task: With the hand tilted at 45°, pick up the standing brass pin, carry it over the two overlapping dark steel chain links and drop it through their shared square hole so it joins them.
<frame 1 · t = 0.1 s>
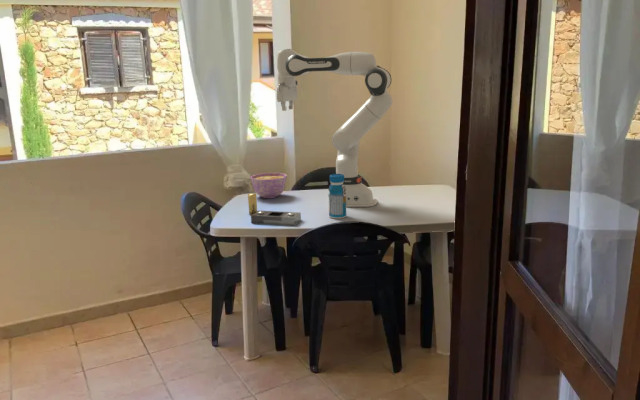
hand: (287, 110, 268), 48 cm above the table, tool pointing down, fingers open, 8 cm apart
bowl of food: (269, 196, 289), on the table
beverage bottle: (337, 217, 245), on the table
brass pin: (253, 214, 254), on the table
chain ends: (276, 221, 240), on the table
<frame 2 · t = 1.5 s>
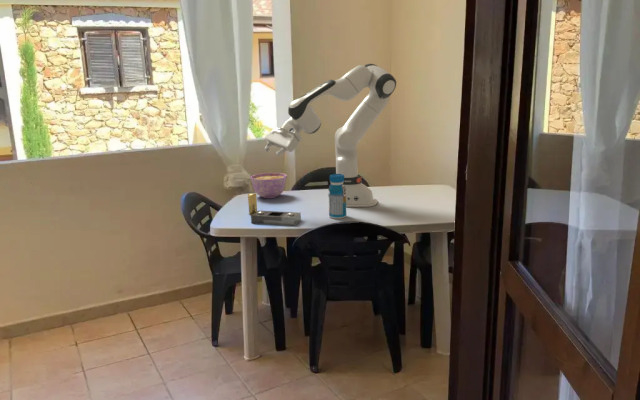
hand: (271, 152, 249), 30 cm above the table, tool tilted 45°, fingers open, 8 cm apart
nothing on the table moved.
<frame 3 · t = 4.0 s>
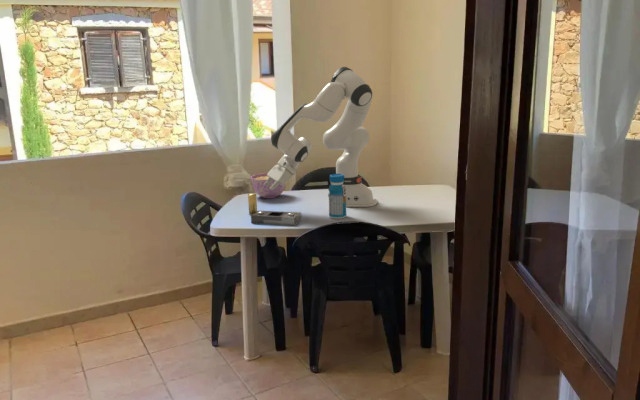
hand: (268, 187, 253), 13 cm above the table, tool tilted 45°, fingers open, 8 cm apart
nothing on the table moved.
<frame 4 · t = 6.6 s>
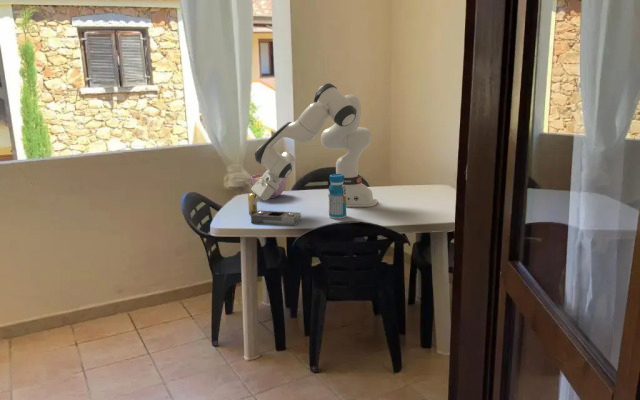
hand: (251, 202, 253), 6 cm above the table, tool tilted 45°, fingers closed on brass pin, 4 cm apart
brass pin: (253, 214, 254), on the table, touching gripper
everything else where it was.
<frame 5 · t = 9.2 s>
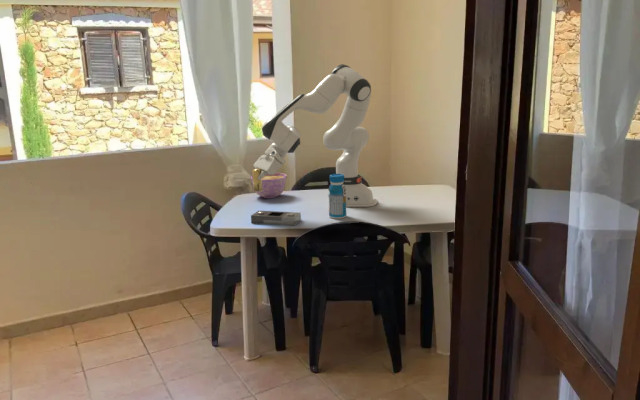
hand: (256, 178, 245), 19 cm above the table, tool tilted 45°, fingers closed on brass pin, 4 cm apart
brass pin: (258, 190, 246), point 13 cm above the table, touching gripper
everything else where it was.
when the fingers open (8 cm above the table, at t = 12.1 s): brass pin drops 2 cm, resting in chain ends.
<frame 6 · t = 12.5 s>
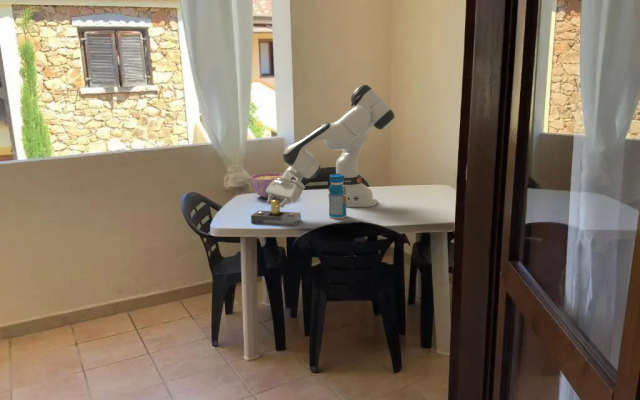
hand: (274, 205, 238), 8 cm above the table, tool tilted 45°, fingers open, 8 cm apart
brass pin: (276, 221, 240), resting in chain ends
everything else where it was.
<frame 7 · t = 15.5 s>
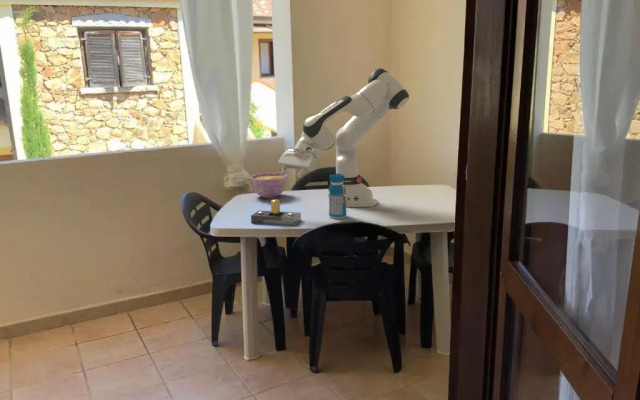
hand: (290, 175, 241), 20 cm above the table, tool tilted 45°, fingers open, 8 cm apart
nothing on the table moved.
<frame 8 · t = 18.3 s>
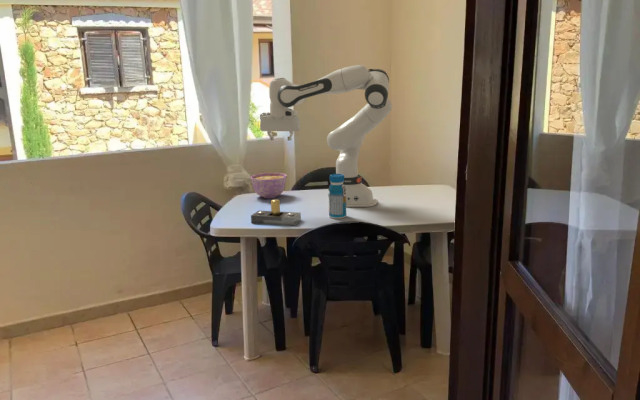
hand: (280, 140, 258), 34 cm above the table, tool pointing down, fingers open, 8 cm apart
nothing on the table moved.
at the end: brass pin 0.1 cm off-centre on the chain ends, point 0.0 cm above the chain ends's base; brass pin tilted 0°; the gripper is holding nothing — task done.
